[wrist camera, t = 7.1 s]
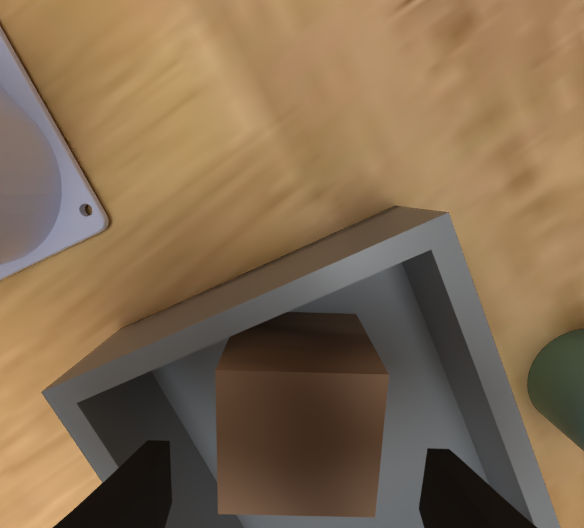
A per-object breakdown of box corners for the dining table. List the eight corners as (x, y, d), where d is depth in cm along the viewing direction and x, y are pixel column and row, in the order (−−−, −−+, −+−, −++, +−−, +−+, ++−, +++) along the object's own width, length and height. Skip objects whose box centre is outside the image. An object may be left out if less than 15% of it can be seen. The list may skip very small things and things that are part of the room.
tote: (119, 329, 16) (41, 391, 11) (395, 205, 14) (448, 212, 10) (279, 597, 19) (276, 739, 14) (514, 513, 18) (598, 636, 13)
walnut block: (240, 413, 16) (217, 514, 11) (240, 310, 15) (215, 370, 10) (348, 416, 16) (375, 517, 11) (356, 313, 15) (389, 374, 10)
